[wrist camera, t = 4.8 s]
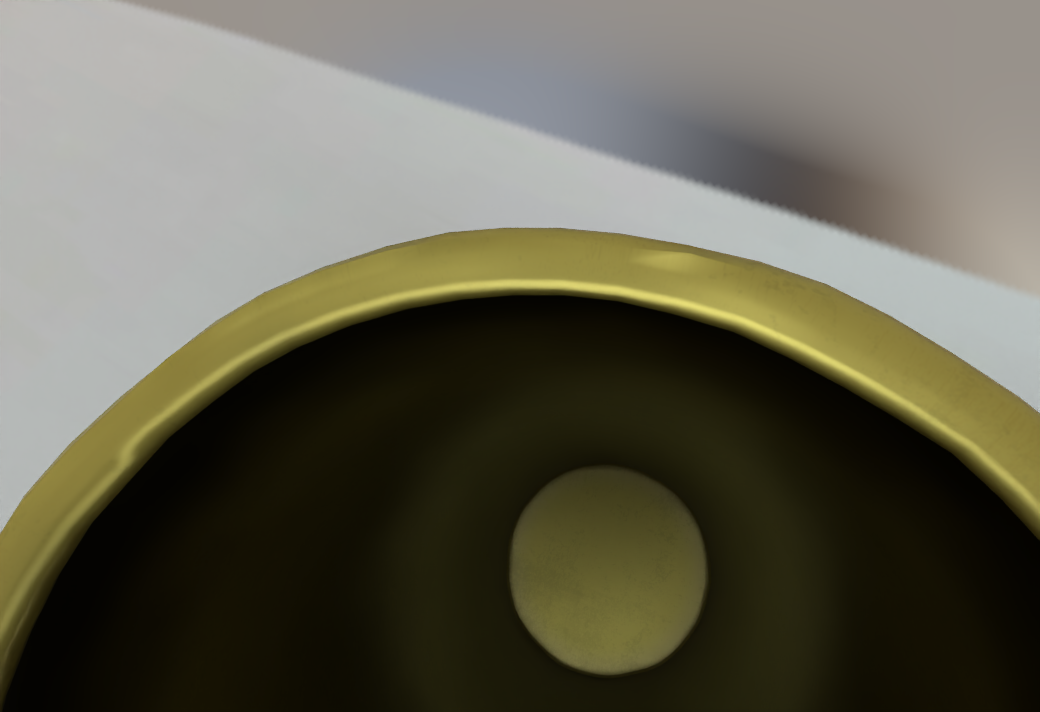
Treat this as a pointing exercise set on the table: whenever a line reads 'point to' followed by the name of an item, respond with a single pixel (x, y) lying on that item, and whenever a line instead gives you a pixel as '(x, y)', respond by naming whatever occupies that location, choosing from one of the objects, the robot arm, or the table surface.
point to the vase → (537, 501)
